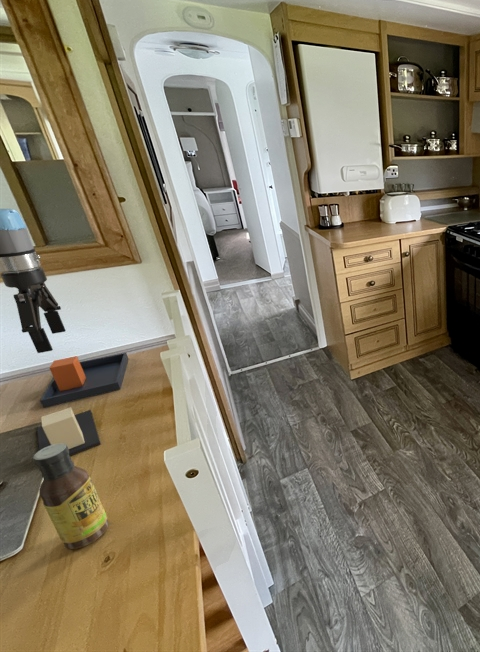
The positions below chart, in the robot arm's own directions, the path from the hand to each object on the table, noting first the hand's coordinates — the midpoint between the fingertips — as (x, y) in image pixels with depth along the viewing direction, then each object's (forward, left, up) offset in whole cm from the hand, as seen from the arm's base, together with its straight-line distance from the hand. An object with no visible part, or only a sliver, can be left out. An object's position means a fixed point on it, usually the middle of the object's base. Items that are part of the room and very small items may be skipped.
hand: (52, 341), depth 106 cm
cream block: (+17, -26, -16) cm, 35 cm away
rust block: (-1, +2, -16) cm, 16 cm away
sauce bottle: (+38, -53, -16) cm, 67 cm away
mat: (+14, -23, -16) cm, 31 cm away
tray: (+2, +3, -16) cm, 17 cm away
